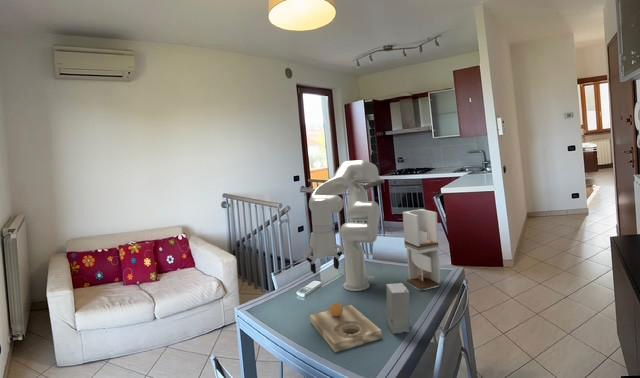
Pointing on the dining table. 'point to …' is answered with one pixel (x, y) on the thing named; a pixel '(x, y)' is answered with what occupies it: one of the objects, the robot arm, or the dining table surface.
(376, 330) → the block
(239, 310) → the dining table surface
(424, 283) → the display case
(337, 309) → the ball
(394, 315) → the skincare box
